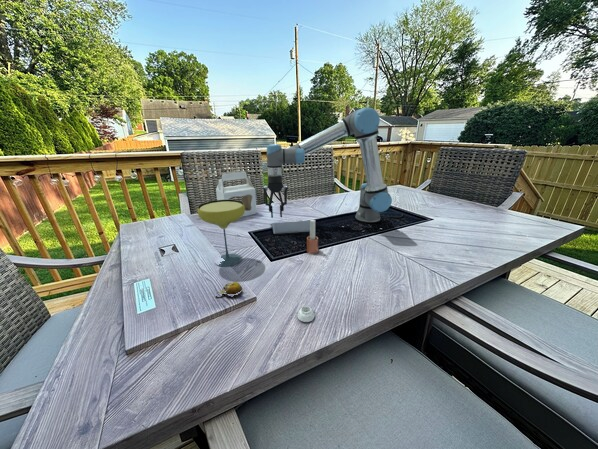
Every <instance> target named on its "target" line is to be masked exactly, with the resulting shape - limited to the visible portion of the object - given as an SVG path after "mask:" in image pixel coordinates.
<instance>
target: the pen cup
mask: <svg viewBox="0 0 598 449" xmlns="http://www.w3.org/2000/svg"><path fill="white" fill-rule="evenodd" d="M306 252H307V253H308V254H317V253H319V237H318V236H316V235H315V240H310V235H308V236H307V237H306Z"/></svg>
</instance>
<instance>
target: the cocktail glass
mask: <svg viewBox="0 0 598 449" xmlns="http://www.w3.org/2000/svg"><path fill="white" fill-rule="evenodd" d="M244 212H245V207H244V204H243V201H240V200H237V199H229V200H217V199H216V200H210V201H207V202H203V203H201V204H199V205H198V206H197V215H198V217H199V219H200V220H202V221H203V222H205V223H208V224H211V225H215V226H218V227H219V228H220V229H222V230H223V238H224V246H225V247H224V248H225V254H223V255H220V256H221V258H223V259H224V260H225V261H222V262H220V263H221V264H219V266H218V267H221V268H222V267H223V268H228V267H232V266H235V265H237V264H239V263H240V262H241V260H242V259H241V256H240V255H238V254H235V253H229V250H228V244H227V235H226V229H227V228H228V227H229V225H230V224H232V223H235V222H236V221H238V220H239V219H241V218H242V217H241V216H242V215H243V214H244Z"/></svg>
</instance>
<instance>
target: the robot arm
mask: <svg viewBox="0 0 598 449" xmlns="http://www.w3.org/2000/svg"><path fill="white" fill-rule="evenodd" d="M380 121H381V119H380V114H379V113H378V111H377V110H376V109H374V108H373V107H368V106H365V107H361V108H359V109H356V110H354V111H352V112H351V113H350V114H348V115H346V116H345V117H343V118H342V119H340V120H339V122H338V123H336V124H334V125H332V126H330V127H328V128H326V129H324V130H322V131H320V132H318V133H316V134H314V135H312V136H310V137H308V138H306V139H304V140H302V141H300V142H298V143H296V144H295V145H293V146H290V147H288V148H282V145H281V144H268V145H267V146H266V162H267V163H266V165H267V175H268V176H267V185H266V186H263V187H262V190H263V192H264V205H265V206H268V212H269V213H270V218H271V219H273V218H274V211H273V210H274V209H273V205H272V203H273V198H274V194H276V193H277V194H278V198H279V202H280V204H279V217H280V218H283V212H284V210H285V209H284V208H285V207H284V206H286V205H287V204H288V190H289V187H288V186H287V185H284V184H283V176H282V175H283V165H286V164H288V165H289V164H292V165H294V164H297V165H299V164H304V163H305V162H306V161H305V160H306V156H307V155H309V154H312V153H313V152H315V151H317V150H319V149H321V148H323V147H325V146H327V145H329V144H331V143H333V142H336V141H337V140H339V139H342V138H343V137H347V138H348V137H350V136H351V135H354V138H355V139H354V140H356V141H357V142H358V144H359V150H360V154H361V159H362V160H361V161H362V165H363V171H364V177H365V181H366V182H365V183H364V182H363V183H362V184H361V185H360V192H359V194H360V195H359V205H358V209H357V211H356V214H355V217H354V220H356V221H357V222H359V223H363V224H376V223H380V221H381V218H391V219H400V218H403V216H404V213H401V215H399V216H393V215H392V216H391V215H380V214H381V213H384V212H385V211H387V210H388V209H389V208H390V207H391V205H392V203H393V202H392V201H393V198H392V196H391V194H390V193H389V191H388V185H387V184H386V183H385V182H384V178H383V172H382V165H381V160H380V154H379V153H380V152H379V147H378V146H379V145H378V141H377V137H378V136H379V134H380V132H379V126H380V123H381V122H380ZM268 189H269V191H270V195H269V199H268ZM282 190H283V193H284V194H283V196H282V192H281V191H282Z"/></svg>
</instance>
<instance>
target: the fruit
mask: <svg viewBox="0 0 598 449" xmlns="http://www.w3.org/2000/svg"><path fill="white" fill-rule="evenodd" d="M241 290H242V291H243V286H242V285H241V284H240V283H239V282H237V281H233V282H228V283H226V284H225V285H224V286H223V289H221V290H220V291H219V292H218V293H217V294H224V293H225V291H226V293H227V294H236V293H238V292H240V291H241ZM240 295H241V293H240V294H238V295H234V296H233V297H234V298H233V297H232V298H231V299H235V298H238V297H239V296H240Z"/></svg>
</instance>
